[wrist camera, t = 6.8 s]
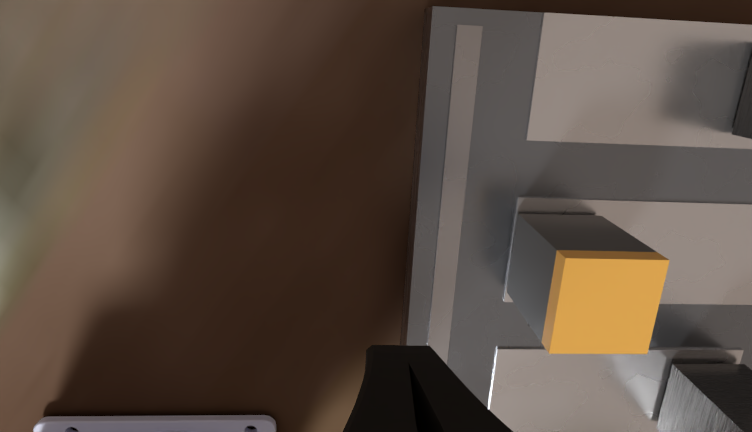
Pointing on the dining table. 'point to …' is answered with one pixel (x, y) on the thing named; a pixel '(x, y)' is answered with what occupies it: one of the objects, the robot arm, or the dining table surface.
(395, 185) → the dining table surface
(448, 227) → the panel
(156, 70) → the dining table surface
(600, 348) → the block
